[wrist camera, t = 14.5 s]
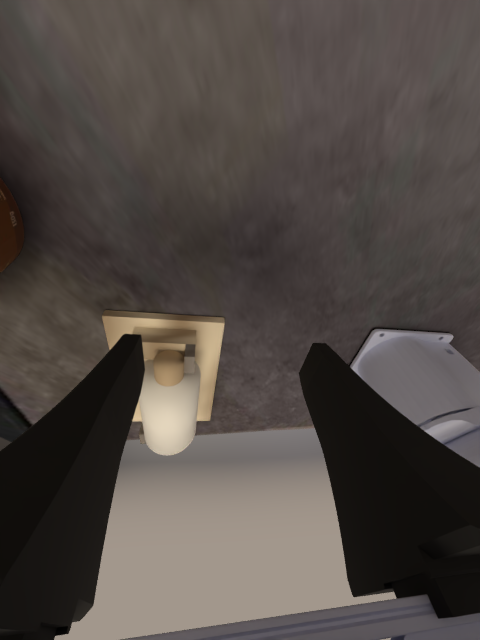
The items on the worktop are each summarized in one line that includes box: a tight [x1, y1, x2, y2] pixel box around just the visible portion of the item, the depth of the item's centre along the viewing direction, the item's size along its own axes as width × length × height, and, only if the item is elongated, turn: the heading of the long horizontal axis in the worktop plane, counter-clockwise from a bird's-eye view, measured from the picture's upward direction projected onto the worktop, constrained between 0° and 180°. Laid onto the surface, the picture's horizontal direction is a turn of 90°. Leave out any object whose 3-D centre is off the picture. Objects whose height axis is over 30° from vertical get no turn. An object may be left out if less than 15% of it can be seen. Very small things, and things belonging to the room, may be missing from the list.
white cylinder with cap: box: [139, 350, 201, 455], centre depth 24 cm, size 5×12×5 cm, turn 172°
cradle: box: [102, 310, 225, 444], centre depth 25 cm, size 10×16×4 cm, turn 171°
